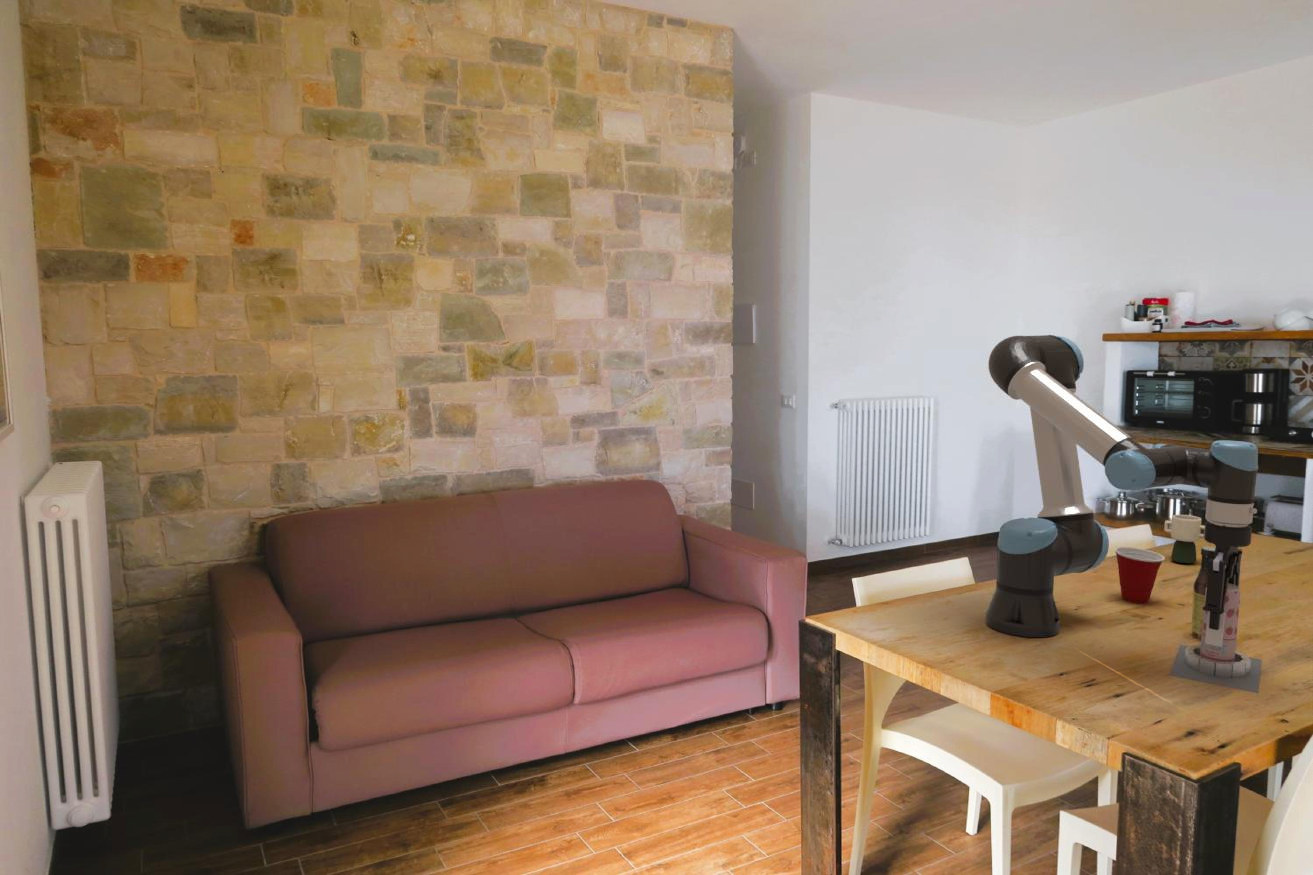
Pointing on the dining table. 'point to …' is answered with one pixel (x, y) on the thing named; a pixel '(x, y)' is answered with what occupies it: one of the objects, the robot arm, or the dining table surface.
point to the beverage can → (1230, 629)
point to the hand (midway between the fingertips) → (1218, 640)
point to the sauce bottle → (1200, 592)
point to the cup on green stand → (1184, 537)
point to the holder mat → (1240, 683)
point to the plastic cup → (1137, 572)
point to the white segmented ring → (1217, 664)
